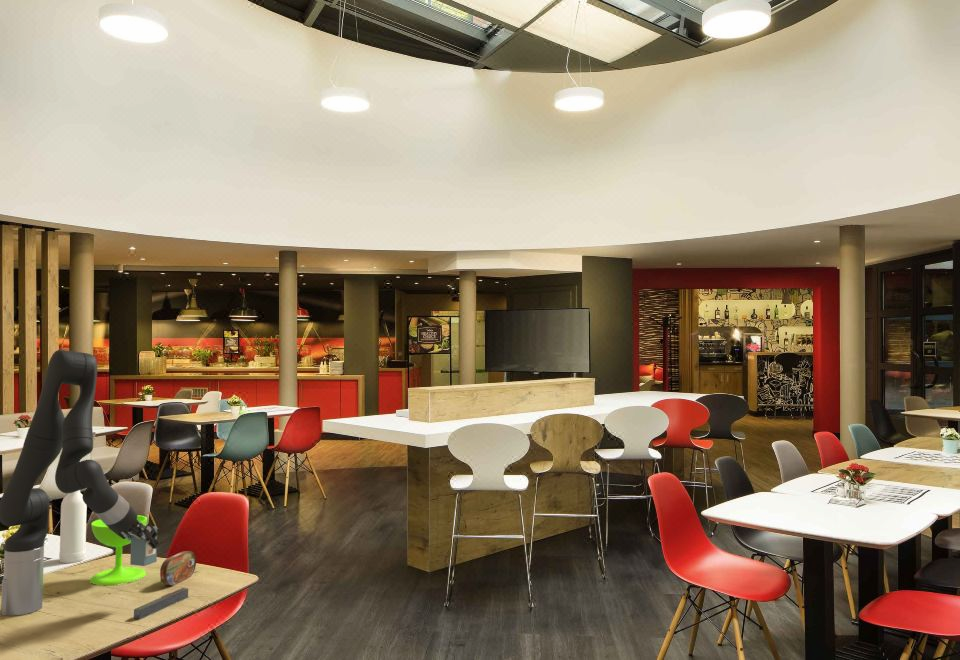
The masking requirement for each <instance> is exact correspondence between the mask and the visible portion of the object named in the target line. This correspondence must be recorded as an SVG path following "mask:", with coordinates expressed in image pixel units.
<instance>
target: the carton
mask: <svg viewBox="0 0 960 660" xmlns="http://www.w3.org/2000/svg"><path fill="white" fill-rule="evenodd" d="M152 526H153V525H152ZM153 527H154V529H155V530H156V532H157V533H158V526H156V525H155V526H153ZM142 532H143V530H142ZM142 532H141V533H142ZM141 533H140V534H139V535H141ZM145 537H146V535H145ZM146 538H147V537H146ZM156 539H157V540H158V535H157V536H156ZM157 549H158V547H157V548H156V549H153V548H152V547H151V546H150V545H149V544H148V543H147V542H146V541H144V540H143V539H138V538H136V537H135V536H133V535H131V543H130V558H129V559H130V565H132V566H138V567H139V566H141V567H146V566H149V565H152V564H154V563H157V553H158V550H157Z"/></svg>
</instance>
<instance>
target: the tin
mask: <svg viewBox="0 0 960 660" xmlns="http://www.w3.org/2000/svg"><path fill="white" fill-rule="evenodd" d="M196 566H197V558H196V555H195V553H194V552H193V551H191V550H188V551H186V550H185V551H181V552H179V553H176V554H175V555H172V556H170V557H168V558H166V559H165V560H164V561H163V562H162V563H161V566H160V568H159V569H160V571H159V572H160V573H159V574H160V575H159V577H160V582H161V583H162V584H163V585H164V586H173V585H174V586H176V585H177V584H178V585H179V583H181V582H183V581H185V580H187V579H189V578H190V577H192V575H193V574H194V573H195V571H196Z"/></svg>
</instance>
